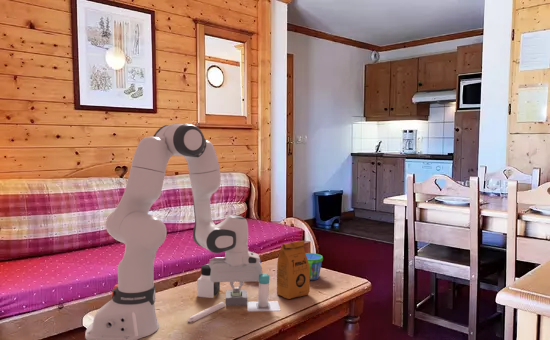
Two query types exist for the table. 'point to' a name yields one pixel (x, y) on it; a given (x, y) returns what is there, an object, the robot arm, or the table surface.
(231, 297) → the button housing
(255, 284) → the table surface
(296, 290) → the coffee package
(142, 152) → the robot arm
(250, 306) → the drawing sheet
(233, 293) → the button
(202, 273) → the medicine bottle
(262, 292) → the fat marker
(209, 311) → the marker
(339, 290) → the table surface
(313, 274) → the snack cup
